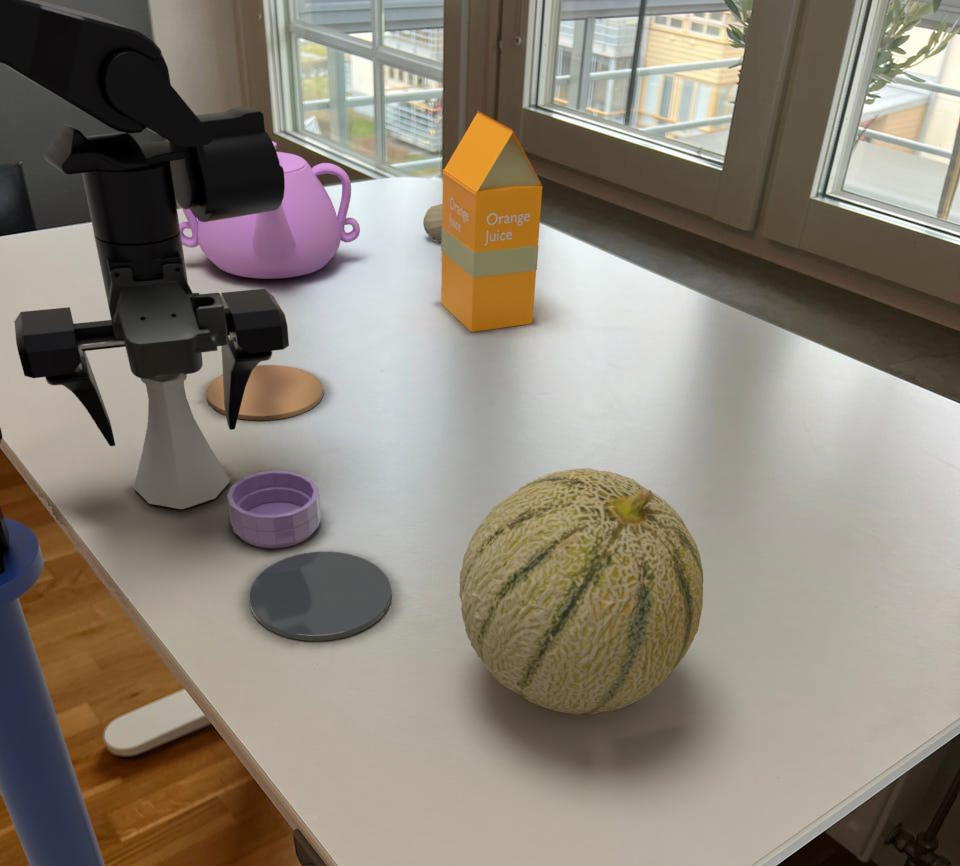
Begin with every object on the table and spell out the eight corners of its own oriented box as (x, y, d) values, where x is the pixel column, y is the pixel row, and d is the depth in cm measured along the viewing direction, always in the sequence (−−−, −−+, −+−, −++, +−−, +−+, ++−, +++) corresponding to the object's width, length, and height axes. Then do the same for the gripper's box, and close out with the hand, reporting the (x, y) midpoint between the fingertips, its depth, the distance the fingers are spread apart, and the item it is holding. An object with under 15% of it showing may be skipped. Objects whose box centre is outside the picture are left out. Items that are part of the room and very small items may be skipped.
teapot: (181, 308, 111) (161, 175, 102) (180, 243, 127) (162, 125, 118) (377, 298, 115) (373, 171, 106) (351, 237, 131) (346, 122, 122)
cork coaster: (217, 427, 90) (217, 422, 89) (198, 377, 97) (197, 372, 97) (336, 411, 93) (336, 406, 93) (308, 363, 101) (307, 359, 100)
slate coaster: (266, 654, 66) (265, 648, 65) (237, 570, 73) (236, 565, 73) (409, 624, 69) (409, 618, 69) (368, 546, 76) (368, 541, 76)
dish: (241, 557, 74) (236, 523, 72) (225, 511, 79) (220, 478, 77) (330, 541, 76) (327, 508, 74) (308, 497, 81) (306, 465, 79)
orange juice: (470, 332, 108) (477, 132, 96) (439, 303, 115) (442, 112, 102) (534, 323, 111) (549, 127, 98) (500, 295, 117) (510, 107, 104)
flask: (246, 482, 82) (232, 369, 76) (182, 521, 78) (161, 403, 71) (183, 457, 85) (164, 345, 79) (118, 492, 80) (92, 377, 74)
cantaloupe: (457, 609, 70) (462, 416, 61) (662, 613, 71) (699, 422, 61) (456, 762, 59) (463, 554, 49) (701, 765, 59) (754, 560, 50)
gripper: (-7, 285, 60) (53, 506, 70) (297, 259, 66) (313, 466, 76) (-10, 228, 68) (45, 434, 78) (262, 209, 73) (281, 403, 83)
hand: (172, 435), depth 78 cm, fingers open, 9 cm apart
